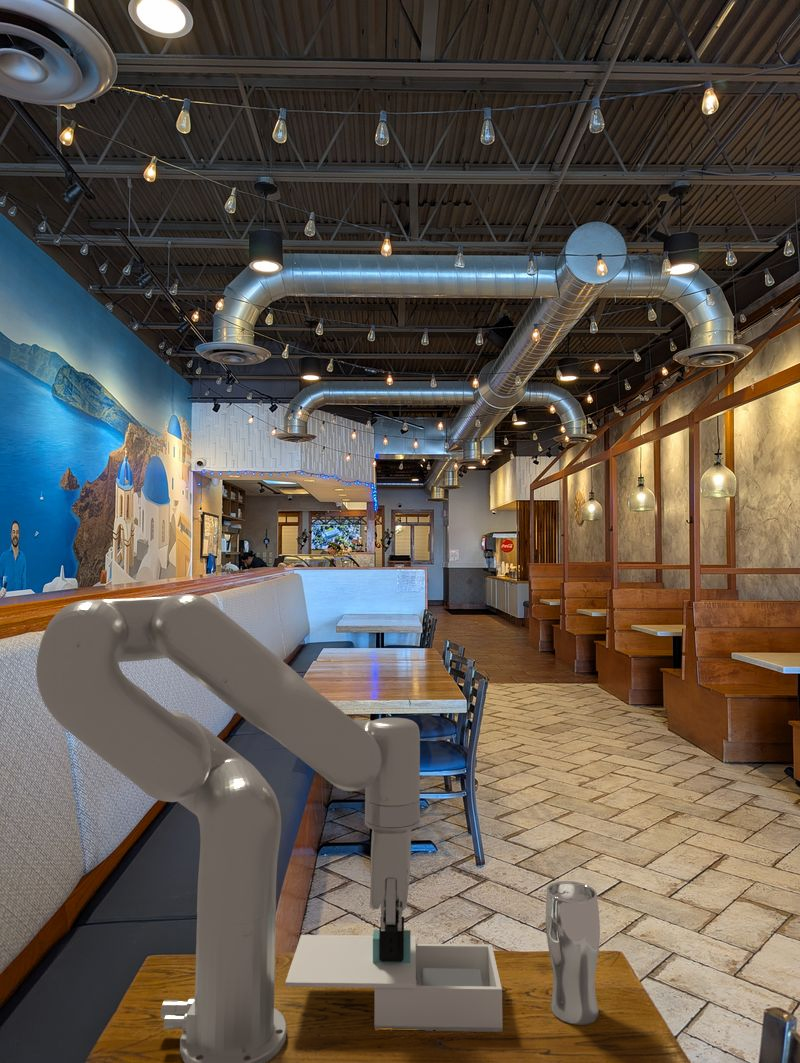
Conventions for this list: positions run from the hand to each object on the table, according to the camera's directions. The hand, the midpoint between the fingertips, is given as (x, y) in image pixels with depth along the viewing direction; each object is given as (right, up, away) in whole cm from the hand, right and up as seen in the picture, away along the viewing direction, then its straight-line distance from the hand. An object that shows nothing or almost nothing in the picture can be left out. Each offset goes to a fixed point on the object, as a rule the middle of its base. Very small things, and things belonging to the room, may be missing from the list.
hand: (391, 952), depth 90 cm
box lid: (-5, -1, 0) cm, 5 cm away
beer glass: (+24, -6, -2) cm, 25 cm away
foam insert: (+8, -6, -1) cm, 10 cm away
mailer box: (+6, -6, -1) cm, 9 cm away
